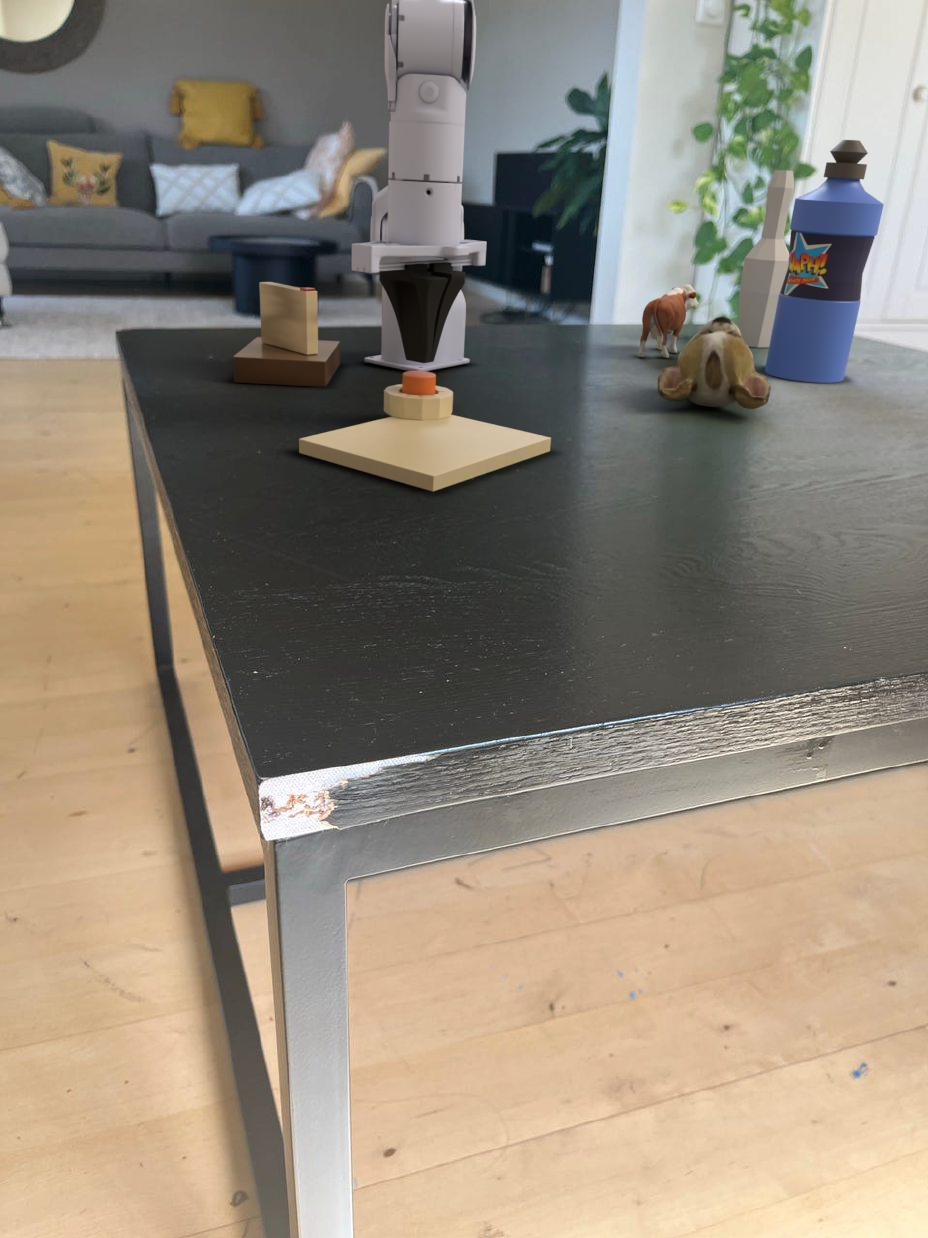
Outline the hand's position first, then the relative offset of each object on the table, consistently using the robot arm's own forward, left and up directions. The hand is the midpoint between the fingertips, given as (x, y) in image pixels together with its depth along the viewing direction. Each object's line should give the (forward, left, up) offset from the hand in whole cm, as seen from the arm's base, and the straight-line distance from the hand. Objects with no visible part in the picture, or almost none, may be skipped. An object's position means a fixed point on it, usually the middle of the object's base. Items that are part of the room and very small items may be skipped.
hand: (419, 360), depth 79 cm
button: (0, 0, -3) cm, 3 cm away
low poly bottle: (-71, +2, -6) cm, 71 cm away
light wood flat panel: (-7, -23, -3) cm, 24 cm away
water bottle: (-54, +15, -6) cm, 56 cm away
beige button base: (+5, +5, -6) cm, 9 cm away
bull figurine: (-53, -3, -6) cm, 53 cm away
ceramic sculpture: (-29, +14, -6) cm, 33 cm away
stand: (-7, -23, -6) cm, 25 cm away
